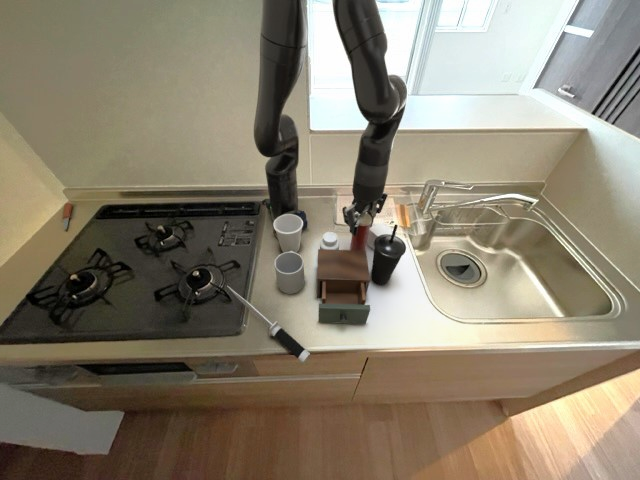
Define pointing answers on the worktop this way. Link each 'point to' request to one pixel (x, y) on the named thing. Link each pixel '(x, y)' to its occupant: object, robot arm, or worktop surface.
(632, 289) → the worktop surface
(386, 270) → the drinking cup
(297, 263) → the cup
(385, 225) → the white cube
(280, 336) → the knife
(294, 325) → the worktop surface
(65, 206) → the kitchen knife
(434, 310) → the worktop surface
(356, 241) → the tin
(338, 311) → the drawer
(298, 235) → the dixie cup
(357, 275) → the cabinet
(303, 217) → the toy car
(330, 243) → the supplement bottle
